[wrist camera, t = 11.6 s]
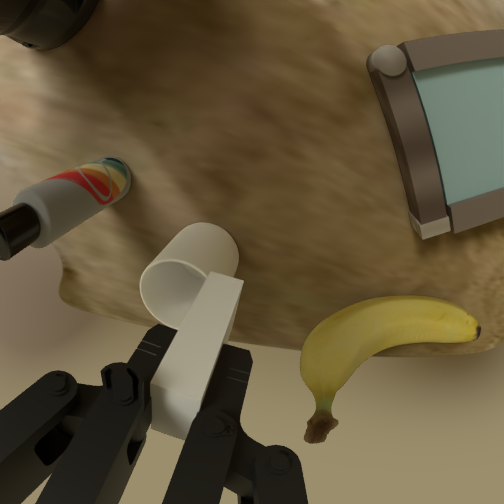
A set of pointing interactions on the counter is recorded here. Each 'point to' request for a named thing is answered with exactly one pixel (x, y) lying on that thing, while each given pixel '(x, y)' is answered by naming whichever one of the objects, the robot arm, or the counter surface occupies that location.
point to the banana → (372, 343)
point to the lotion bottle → (61, 204)
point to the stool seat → (464, 119)
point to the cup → (186, 270)
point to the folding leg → (409, 140)
